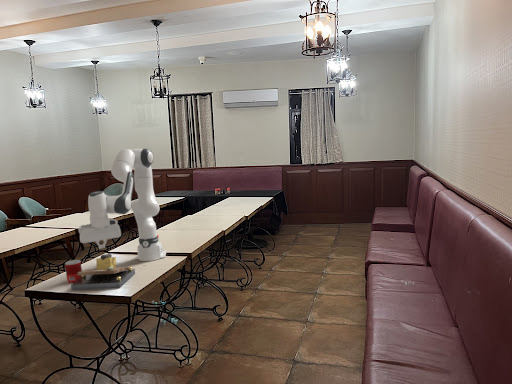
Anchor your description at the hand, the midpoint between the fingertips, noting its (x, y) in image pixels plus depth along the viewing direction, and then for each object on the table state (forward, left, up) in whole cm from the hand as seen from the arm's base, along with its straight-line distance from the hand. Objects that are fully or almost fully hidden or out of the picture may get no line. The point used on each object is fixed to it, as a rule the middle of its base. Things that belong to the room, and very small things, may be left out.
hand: (102, 248), depth 210 cm
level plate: (-6, -3, -15) cm, 17 cm away
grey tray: (-6, -3, -20) cm, 21 cm away
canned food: (-10, -22, -21) cm, 32 cm away
